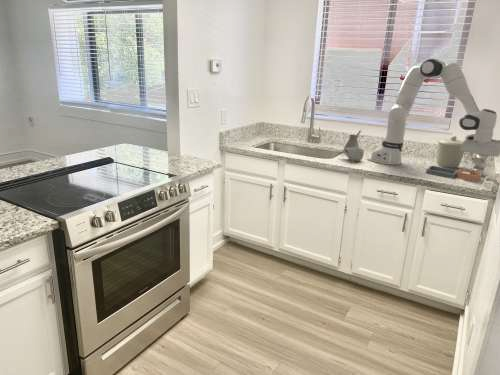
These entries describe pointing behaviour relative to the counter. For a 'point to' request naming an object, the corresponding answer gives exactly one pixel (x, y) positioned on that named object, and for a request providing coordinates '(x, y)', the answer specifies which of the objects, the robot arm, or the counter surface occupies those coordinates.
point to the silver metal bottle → (480, 165)
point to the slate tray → (441, 171)
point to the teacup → (354, 153)
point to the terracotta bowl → (469, 175)
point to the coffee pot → (352, 142)
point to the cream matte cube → (477, 159)
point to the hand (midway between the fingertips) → (477, 161)
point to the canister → (449, 152)
